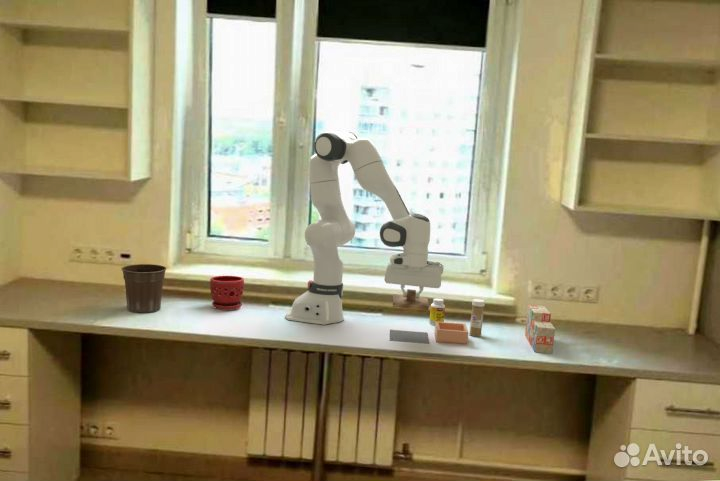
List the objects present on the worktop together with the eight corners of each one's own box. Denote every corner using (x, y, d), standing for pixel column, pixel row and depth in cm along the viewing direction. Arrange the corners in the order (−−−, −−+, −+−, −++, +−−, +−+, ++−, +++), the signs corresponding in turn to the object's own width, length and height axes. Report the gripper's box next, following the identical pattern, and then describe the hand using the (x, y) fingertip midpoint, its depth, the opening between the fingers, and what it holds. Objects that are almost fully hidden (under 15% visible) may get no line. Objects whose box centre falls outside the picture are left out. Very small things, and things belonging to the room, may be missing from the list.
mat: (389, 341, 248) (389, 340, 248) (389, 330, 262) (389, 329, 262) (429, 344, 248) (429, 343, 248) (427, 333, 261) (427, 332, 261)
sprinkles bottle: (467, 335, 262) (471, 300, 260) (470, 332, 267) (474, 298, 265) (480, 337, 261) (483, 302, 259) (482, 334, 265) (486, 299, 263)
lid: (392, 306, 247) (394, 293, 246) (392, 298, 260) (394, 284, 259) (428, 310, 247) (429, 296, 246) (426, 301, 259) (428, 288, 258)
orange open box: (436, 343, 250) (437, 329, 249) (434, 334, 261) (435, 321, 260) (467, 345, 250) (468, 332, 249) (464, 336, 260) (465, 323, 260)
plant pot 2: (248, 305, 284) (249, 276, 282) (234, 313, 272) (236, 282, 270) (217, 301, 287) (219, 273, 285) (203, 309, 274) (204, 279, 273)
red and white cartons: (552, 354, 247) (556, 320, 245) (534, 352, 247) (538, 318, 245) (541, 336, 268) (544, 305, 266) (524, 335, 268) (527, 304, 266)
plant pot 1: (111, 308, 267) (112, 266, 264) (146, 301, 280) (147, 261, 277) (139, 317, 257) (140, 274, 255) (174, 309, 271) (175, 268, 268)
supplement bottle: (435, 327, 270) (437, 301, 269) (426, 323, 275) (428, 298, 273) (446, 326, 273) (448, 300, 272) (437, 322, 278) (439, 297, 276)
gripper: (443, 261, 253) (439, 298, 256) (386, 255, 254) (383, 292, 256) (444, 264, 247) (440, 302, 249) (386, 258, 248) (382, 296, 250)
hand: (410, 297), depth 253 cm, fingers closed on lid, 3 cm apart
